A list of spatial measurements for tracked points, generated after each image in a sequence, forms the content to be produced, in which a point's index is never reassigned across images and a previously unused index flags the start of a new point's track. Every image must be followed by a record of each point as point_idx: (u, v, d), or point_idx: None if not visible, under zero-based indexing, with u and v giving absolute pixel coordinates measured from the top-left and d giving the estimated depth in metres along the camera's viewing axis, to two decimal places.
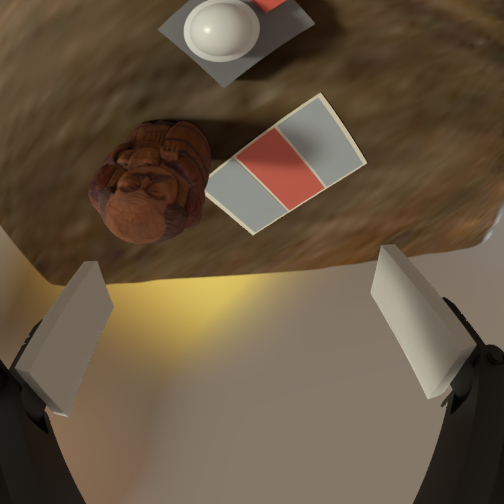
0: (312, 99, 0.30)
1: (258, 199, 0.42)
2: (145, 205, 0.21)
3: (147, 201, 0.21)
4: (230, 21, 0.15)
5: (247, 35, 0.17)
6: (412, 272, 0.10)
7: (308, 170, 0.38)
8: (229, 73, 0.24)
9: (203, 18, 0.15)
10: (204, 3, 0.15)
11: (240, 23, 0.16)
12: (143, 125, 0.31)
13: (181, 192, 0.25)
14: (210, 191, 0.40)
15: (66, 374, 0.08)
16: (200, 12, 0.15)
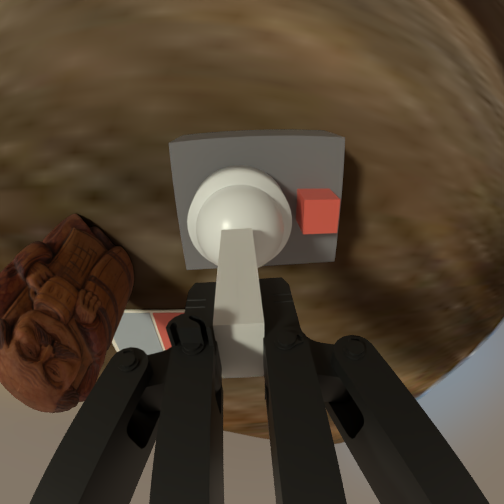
0: None
1: None
2: (39, 389, 0.12)
3: (42, 385, 0.12)
4: (260, 247, 0.15)
5: (262, 265, 0.16)
6: (246, 251, 0.12)
7: None
8: (204, 258, 0.22)
9: (234, 216, 0.14)
10: (250, 177, 0.15)
11: (268, 253, 0.15)
12: (79, 224, 0.23)
13: (80, 367, 0.17)
14: None
15: None
16: (236, 199, 0.14)
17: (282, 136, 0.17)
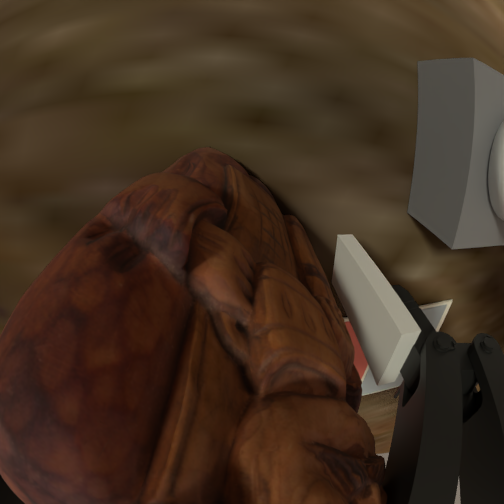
0: (441, 304, 0.20)
1: None
2: None
3: None
4: None
5: None
6: (363, 259, 0.11)
7: (360, 376, 0.24)
8: (474, 233, 0.11)
9: None
10: None
11: None
12: (231, 163, 0.13)
13: None
14: None
15: None
16: None
17: None
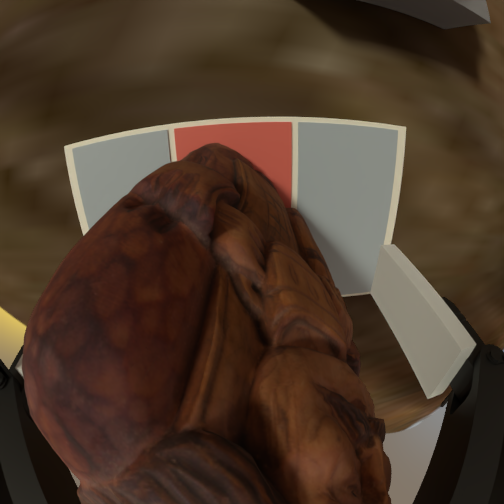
0: (388, 126, 0.15)
1: None
2: None
3: None
4: None
5: None
6: (412, 272, 0.10)
7: None
8: None
9: None
10: None
11: None
12: (238, 158, 0.14)
13: None
14: (81, 173, 0.15)
15: None
16: None
17: None
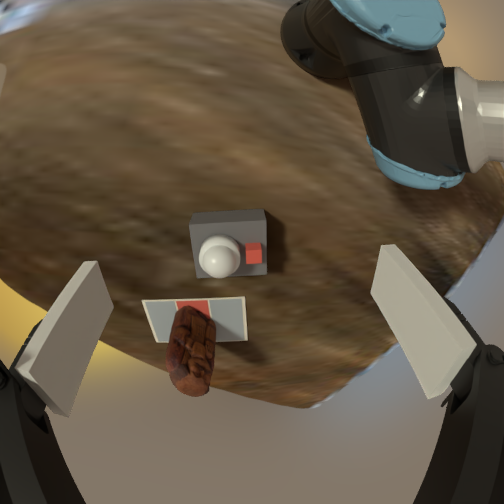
0: (237, 298, 0.56)
1: None
2: (202, 387, 0.44)
3: (203, 385, 0.44)
4: (226, 269, 0.41)
5: (228, 275, 0.42)
6: (412, 272, 0.10)
7: None
8: (205, 273, 0.47)
9: (216, 259, 0.40)
10: (222, 242, 0.42)
11: (229, 271, 0.41)
12: (193, 312, 0.55)
13: None
14: (148, 308, 0.57)
15: (66, 374, 0.08)
16: (217, 252, 0.40)
17: (237, 222, 0.43)
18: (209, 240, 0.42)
